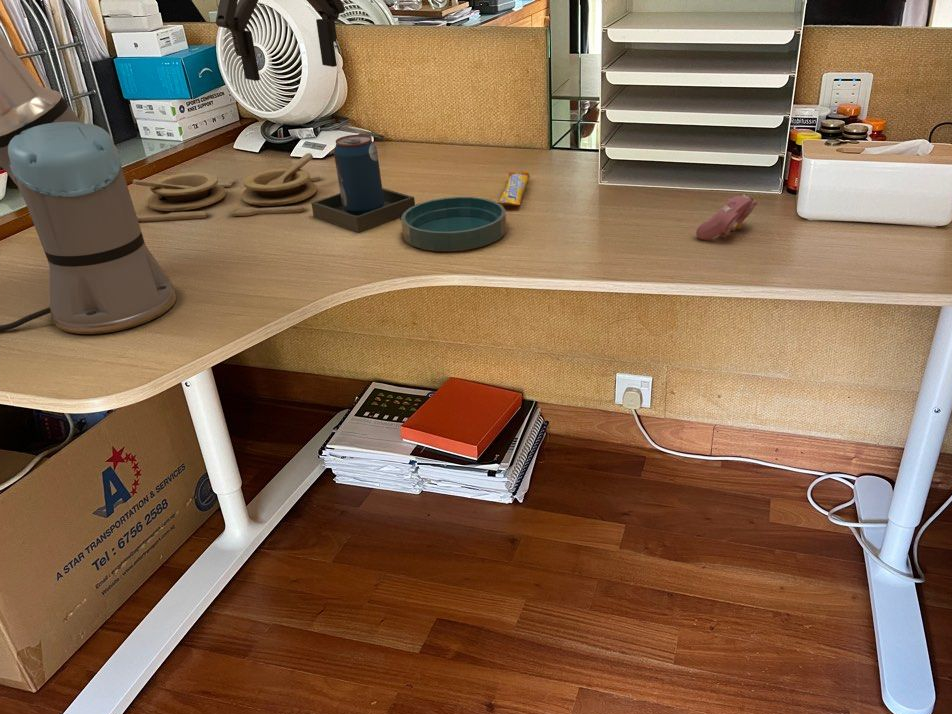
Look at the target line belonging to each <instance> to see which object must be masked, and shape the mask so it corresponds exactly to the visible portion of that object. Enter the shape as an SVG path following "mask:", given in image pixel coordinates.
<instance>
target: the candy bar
mask: <svg viewBox="0 0 952 714" xmlns="http://www.w3.org/2000/svg"><path fill="white" fill-rule="evenodd" d="M508 178H509V179H508V181H507V184H506V186H505V189H504V191H503V192H502V194H501V196H500V198H499V200H498V201H496V202H497V203H499V204H501V205H502V206H509V207H511V206H512V207H513V206H514V207H515V206H521V203H522V199H523V197H524V193H525V190H526V187H527V185H528V182H529V180H530V178H531V175H530V173H529V172H528V171H520V172H518V173H516V172H514V171H513V172H508Z"/></svg>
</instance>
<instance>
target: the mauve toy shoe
mask: <svg viewBox="0 0 952 714" xmlns="http://www.w3.org/2000/svg"><path fill="white" fill-rule="evenodd" d="M757 203H758V202H757V201H756V200H754V199H753V198H752V197H750V196H746V194H745V193H744V194H742V195H735V196H733V197H730V198H729V199H728V200H727V201H726V203H725V204H724V205H723V206H722V207H721V208H720V209H719V210H718V211H717V212H716V213H715V214H714V215H713V216H712V217H711V218H709V219H707V220H705V221H704V222H702V223H700V224H699V225H698V227H697V228H696V230H695V236H696V238H698V239H700V240H710V239H711V240H712V239H713V238H715V237H717V236H721V237H722V238H726V237H727V236H728V235H729V234H730V233H731V231H733V232H735V231H736V230H737V229H740V228H741V227H742V224H743V222H744V221H745V220H746V219H747V218H748V217H749V216H750V215H751V213H752V212H753V211H754V209H755V208H756V206H757Z"/></svg>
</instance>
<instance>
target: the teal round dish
mask: <svg viewBox="0 0 952 714" xmlns="http://www.w3.org/2000/svg"><path fill="white" fill-rule="evenodd" d="M497 202H498V201H495V200H491V199H488V198H483V197H476V196H451V197H441V198H435V199H429V200H427V201H423V202H420V203H419V202H418V203H417V204H415V206H413V207H411V208H409V209H408V210H406V211H405V212H404V213H403V215H402V217H400V221H401V229H402V230H401V231H402V235H403V238H404V241H405V242H406V243H407V244H409V245H411V246H413V247H414V248H418V249H421V250H427V251H433V252H458V251H468V250H473V249H477V248H478V249H479V248H481V247H484V246H488V245H491V244H493V243H495V242H497V241H498V240H500V239H502V238H503V236H505V234H506V233H507V227H508V226H507V210H506V209H505V207H504V205H501V204H499V203H497Z"/></svg>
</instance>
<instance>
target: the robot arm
mask: <svg viewBox="0 0 952 714" xmlns="http://www.w3.org/2000/svg"><path fill="white" fill-rule="evenodd" d="M306 1H307V3H308V4H309V5H310V6H311V7H312V8H313V9H314V11H315V12H316V13H317V14H318V15H319V16H320V17H321V18H316V19H315V22H316V29H317V36H318V37H317V38H318V42H319V50H320V56H321V57H320V58H321V64H322V66H326V67H330V68H335V67H338V63H337V56H336V48H335V43H336V42H337V39H338V37H337V36H338V35H337V29H336V27H337V26H336V21H335V20H338V19H339V17H340V14H344V13H345V10H346V8H345V5H344V3H343V1H342V0H306ZM258 3H259V0H219V3H218V7H217V13H216V16H215V17H216V18H215V24H216V26H217V27H219V28H223V29H227V30H229V31H230V33H231V37H232V42H233V48H234V52H235V54H236V56H239V57H240V58H241V63H242V68H243V69H242V70H243V74H244V79H245V80H249V81H254V82H257V81H261V77H260V72H259V66H258V61H257V60H258V59H257V57H256V49H255V44H254V38H253V33H252V31H251V30H246V28H247V27H248V24H249V22H250V20H251V17H252V15H253V14H254V11H255V9H256V7H257V5H258ZM0 167H1V168H2V169H3V170H4V171H5V172H6V174H7V175H8V176H9V178H10V179H11V180H12V182H13V183H14V184H15V185H16V187H17V189H18V191H19V193H20V195H21V197H22V199H23V200H24V203H25V206H26V207H27V210H28V212H29V215H30V217H31V220H32V223H33V225H34V228H35V231H36V234H37V236H38V239H39V241H40V245H41V247H42V249H43V252H44V254H45V257H46V260H47V263H48V267H49V306H48V307H46V308H43V309H40V310H38V311H35V312H33V313H30V314H28V315H26V316H23V317H21V318H19V319H17V320H15V321H12V322H10V323H6V324H1V325H0V332H5V331H10V330H13V329H15V328H18V327H20V326H23V325H24V324H27V323H29V322H31V321H33V320H36V319H38V318H41V317H43V316H46V315H49V314H50V315H51V317H52V320H53V322H54V325H55V326H56V327H57V328H58V329H60V330H61V331H64V332H66V333H70V334H77V335H98V334H99V335H100V334H107V333H112V332H113V333H115V332H119V331H123V330H128V329H131V328H134V327H137V326H138V327H139V326H140V325H143V324H146V323H148V322H151V321H152V320H156V319H157V318H158V317H160V316H162V315H163V314H165V313H166V312H167V311H169V310H170V309H171V308H172V307H173V306H174V304H175V303H176V301H177V295H176V291H175V288H174V285H173V284H172V281H171V279H170V277H169V276H168V274H166V272H165V270H163V268H162V267H161V265H160V264H159V262H158V261H157V259H156V258H155V256H154V255H153V254H152V252H151V251H150V250H149V248H148V247H147V245H146V242H145V239H144V236H143V232H142V229H141V226H140V222H138V219H137V216H138V215H137V212H136V209H135V206H134V202H133V199H132V197H131V193H130V190H129V186H128V184H127V180H126V177H125V174H124V171H123V167H122V157H121V155H120V151H119V149H118V147H116V145H115V141H114V140H113V138H112V136H111V134H110V133H108V131H107V130H105V129H104V128H103V127H100V126H98V125H96V124H93V123H83V122H82V121H81V120H80V118H79V117H78V115H77V114H76V112H75V111H74V110H73V109H72V107H71V106H70V105H69V103H68V102H67V101H66V99H65V98H64V97H63V95H62V94H61V92H59V91H57V90H54V89H51V88H48V87H43V86H41V85H40V83H38V81H37V80H36V78H35V77H34V76H33V74H32V73H31V72H30V70H29V69H28V68H27V66H26V65H25V63H24V62H23V60H22V59H21V58H20V57H19V56H18V54H17V53H16V51H15V50H14V49H13V47H12V46H11V44H10V43H9V42H8V40H7V39H6V38H5V37H4V35H3V34H2V33H1V32H0Z"/></svg>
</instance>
